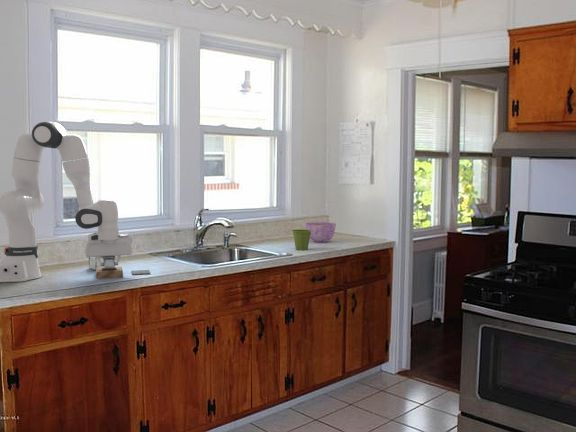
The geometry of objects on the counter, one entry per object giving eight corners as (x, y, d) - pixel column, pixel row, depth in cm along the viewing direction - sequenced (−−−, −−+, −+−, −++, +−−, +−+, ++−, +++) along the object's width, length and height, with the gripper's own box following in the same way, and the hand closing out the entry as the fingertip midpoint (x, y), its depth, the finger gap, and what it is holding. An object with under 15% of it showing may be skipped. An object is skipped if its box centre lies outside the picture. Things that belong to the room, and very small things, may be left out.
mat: (132, 275, 267) (132, 273, 266) (131, 272, 274) (131, 270, 274) (150, 274, 269) (150, 272, 269) (148, 271, 277) (148, 269, 277)
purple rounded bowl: (309, 239, 391) (309, 221, 390) (338, 240, 386) (338, 222, 385) (301, 243, 372) (302, 224, 371) (332, 244, 367) (333, 225, 366)
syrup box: (99, 267, 287) (98, 237, 285) (106, 268, 283) (105, 238, 282) (88, 268, 282) (87, 238, 281) (95, 270, 279) (94, 240, 277)
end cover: (103, 277, 262) (102, 257, 261) (102, 275, 267) (102, 255, 266) (116, 276, 264) (115, 256, 263) (115, 274, 269) (115, 254, 268)
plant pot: (298, 251, 337) (298, 232, 336) (288, 248, 347) (288, 229, 346) (315, 250, 343) (315, 230, 342) (305, 247, 353) (305, 228, 352)
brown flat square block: (96, 278, 258) (96, 272, 258) (96, 274, 269) (96, 267, 269) (122, 277, 262) (122, 270, 261) (121, 272, 272) (121, 266, 272)
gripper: (131, 233, 270) (132, 263, 271) (84, 235, 263) (85, 265, 265) (132, 235, 264) (133, 265, 265) (84, 237, 257) (85, 268, 259)
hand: (109, 265), depth 265 cm, fingers closed on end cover, 5 cm apart
